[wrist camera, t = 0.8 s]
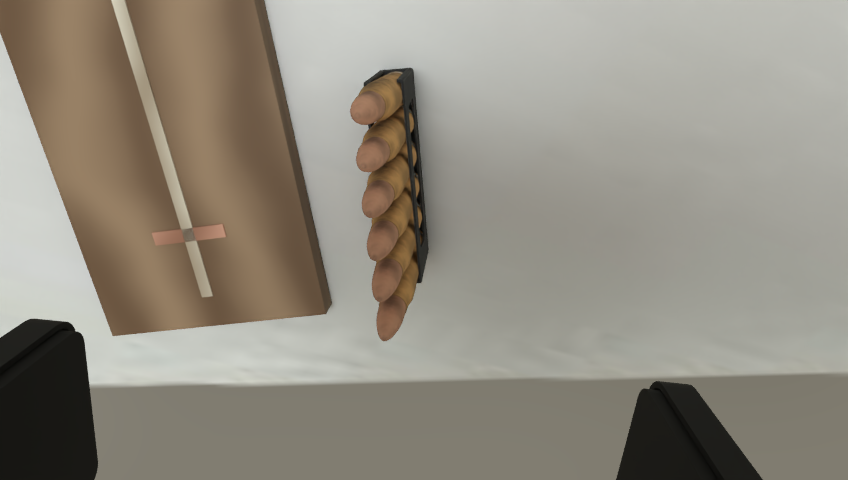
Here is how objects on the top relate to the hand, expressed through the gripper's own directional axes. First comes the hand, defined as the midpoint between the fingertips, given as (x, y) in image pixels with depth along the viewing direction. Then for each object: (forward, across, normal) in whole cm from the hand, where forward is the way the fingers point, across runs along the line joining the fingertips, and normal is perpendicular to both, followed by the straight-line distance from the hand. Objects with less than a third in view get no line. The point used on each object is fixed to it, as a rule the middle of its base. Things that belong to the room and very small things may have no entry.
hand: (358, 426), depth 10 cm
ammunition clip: (+24, 0, +1) cm, 24 cm away
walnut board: (+24, +15, -2) cm, 29 cm away
